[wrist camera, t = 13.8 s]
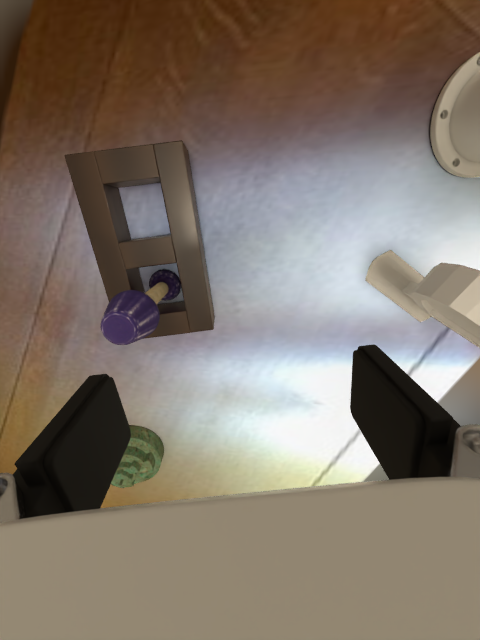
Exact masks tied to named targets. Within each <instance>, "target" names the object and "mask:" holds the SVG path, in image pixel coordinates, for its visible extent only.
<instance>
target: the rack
mask: <svg viewBox="0 0 480 640" xmlns="http://www.w3.org/2000/svg"><path fill="white" fill-rule="evenodd" d="M65 159H66V162H67V165H68V168H69V172H70V175H71V178H72V182H73V185H74V188H75V191H76V195H77V198H78V201H79V205H80V208H81V211H82V214H83V218H84V221H85V224H86V228H87V231H88V234H89V237H90V241H91V244H92V247H93V251H94V254H95V257H96V260H97V264H98V267H99V270H100V274H101V277H102V280H103V283H104V287H105V290H106V293H107V296H108V300H109V302H110V301H111V299H112V298H113V297H114V296H115V295H117V294H118V293H120V292H123V291H126V290H137V291H141V292H143V293H144V289H143V285H142V281H141V277H140V273H139V270H138V268H139V267H147V266H154V265H162V264H170V263H176V262H177V267H178V272H179V277H180V282H181V287H182V292H183V297H184V301H182V302H174V303H166V304H158V305H157V306H158V309H159V313H160V319H159V323H158V326H157V327H156V329H155V330H154V331H153V332H152V333H151V334H150V335H148V336H147V337H144V338H151V337H159V336H167V335H175V334H183V333H190V332H198V331H206V330H213V329H214V320H215V316H214V309H213V303H212V297H211V291H210V284H209V278H208V272H207V266H206V260H205V253H204V247H203V241H202V235H201V228H200V222H199V216H198V210H197V204H196V197H195V191H194V185H193V179H192V172H191V166H190V160H189V154H188V150H187V148H186V146H185V145H184V143H183V141H174V142H166V143H158V144H149V145H141V146H133V147H125V148H117V149H109V150H101V151H94V152H85V153H77V154H69V155H65ZM160 182H161V187H162V192H163V197H164V202H165V207H166V212H167V217H168V222H169V227H170V232H171V234H170V235H162V236H154V237H146V238H138V239H131V238H130V234H129V230H128V226H127V222H126V218H125V214H124V210H123V206H122V202H121V198H120V194H119V190H118V188H120V187H128V186H136V185H144V184H152V183H160ZM142 339H143V338H142Z"/></svg>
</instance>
